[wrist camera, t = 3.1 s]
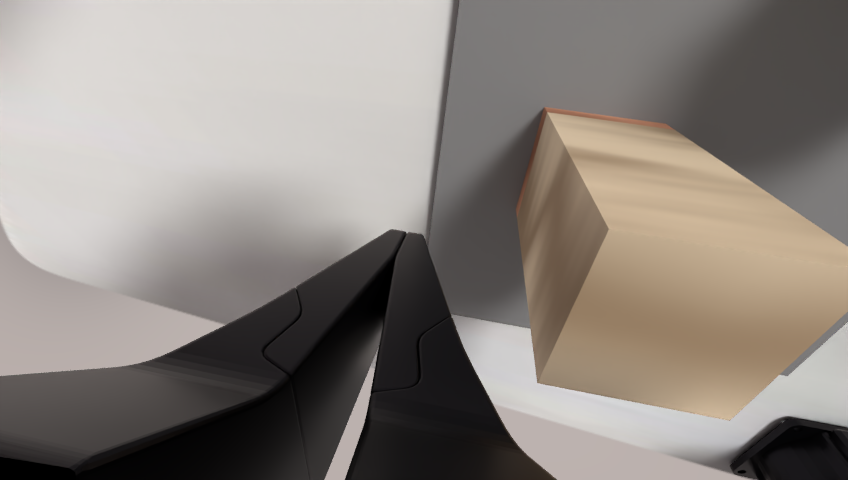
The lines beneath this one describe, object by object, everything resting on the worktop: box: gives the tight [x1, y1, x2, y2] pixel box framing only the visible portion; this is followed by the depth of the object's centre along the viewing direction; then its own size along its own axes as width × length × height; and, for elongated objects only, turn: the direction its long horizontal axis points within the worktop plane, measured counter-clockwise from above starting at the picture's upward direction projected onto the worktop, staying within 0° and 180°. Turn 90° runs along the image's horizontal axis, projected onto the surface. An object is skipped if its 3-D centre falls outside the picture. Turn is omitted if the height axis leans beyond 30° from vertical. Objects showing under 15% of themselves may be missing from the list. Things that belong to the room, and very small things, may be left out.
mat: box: [428, 0, 848, 376], centre depth 14 cm, size 20×20×1 cm
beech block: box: [516, 107, 848, 421], centre depth 11 cm, size 4×4×9 cm
